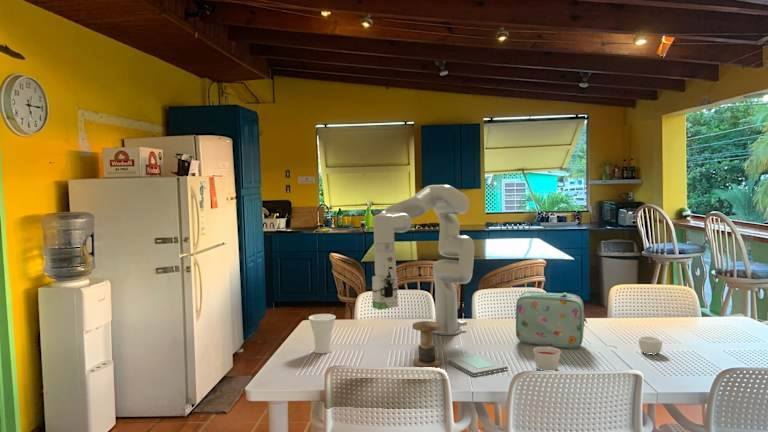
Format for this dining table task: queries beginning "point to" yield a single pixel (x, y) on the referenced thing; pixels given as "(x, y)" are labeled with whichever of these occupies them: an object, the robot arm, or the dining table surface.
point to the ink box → (378, 294)
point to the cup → (322, 331)
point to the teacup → (650, 344)
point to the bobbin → (426, 344)
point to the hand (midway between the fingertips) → (385, 295)
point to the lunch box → (550, 319)
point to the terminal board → (477, 364)
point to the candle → (547, 358)
